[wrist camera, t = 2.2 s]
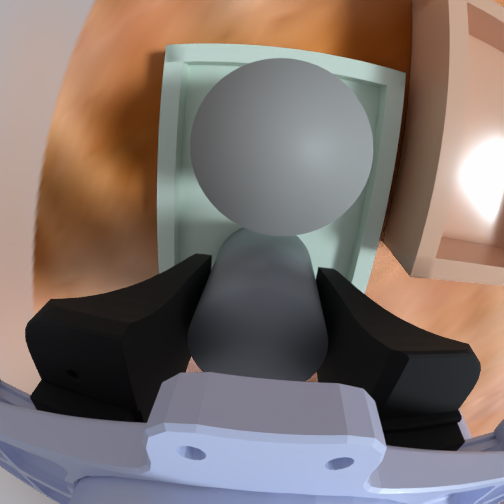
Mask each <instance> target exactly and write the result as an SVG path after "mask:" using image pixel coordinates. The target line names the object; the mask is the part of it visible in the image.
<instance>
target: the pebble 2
mask: <svg viewBox="0 0 504 504" xmlns="http://www.w3.org/2000/svg"><path fill="white" fill-rule="evenodd" d="M188 347H189V350H190V353H191V356H192V358H193V360H194V361H195V363H196V364H197V366H198V367H199V368H200V369H201V370H202V371H203V372H214V373H221V374H228V375H236V376H245V377H254V378H263V379H274V380H287V381H301V382H305V381H306V380H307V379H309V378H310V377H311V376H312V375H313V374H315V373H316V371H317V370H318V369H319V368H320V366H321V365H322V363H323V361H324V359H325V357H326V354H327V350H328V335H327V330H326V325H325V320H324V315H323V311H322V306H321V302H320V297H319V292H318V288H317V284H316V279H315V275H314V271H313V266H312V262H311V258H310V255H309V252H308V250H307V248H306V246H305V245H304V243H303V242H302V241H301V240H300V238H299V237H298V236H296V235H295V236H271V235H266V234H260V233H257V232H254V231H251V230H248V229H246V228H244V227H243V228H241V229H239V230H237V231H236V232H234V233H233V234H231V235H230V236H229V237H228V238H227V239H226V240H225V242H224V243H223V245H222V246H221V248H220V250H219V253H218V255H217V257H216V260H215V262H214V265H213V267H212V270H211V272H210V275H209V277H208V280H207V282H206V285H205V287H204V290H203V292H202V295H201V298H200V300H199V303H198V305H197V308H196V310H195V313H194V315H193V318H192V321H191V323H190V326H189V330H188Z"/></svg>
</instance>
